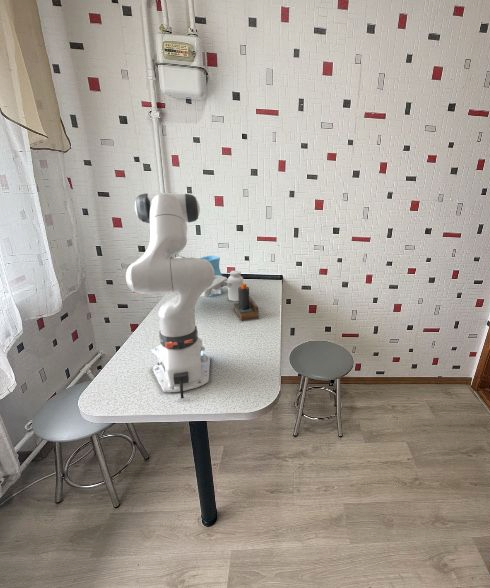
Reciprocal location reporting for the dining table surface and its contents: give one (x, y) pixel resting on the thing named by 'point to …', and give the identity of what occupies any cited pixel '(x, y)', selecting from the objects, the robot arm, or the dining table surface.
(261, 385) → the dining table surface
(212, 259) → the vase
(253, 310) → the brown tray
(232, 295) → the pill bottle
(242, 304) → the bottle
